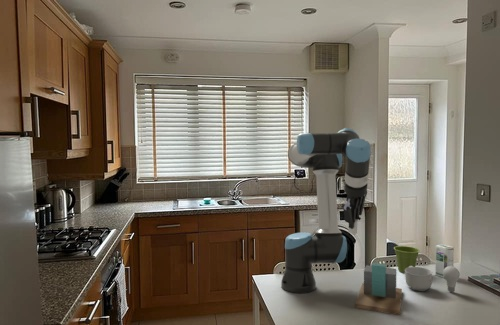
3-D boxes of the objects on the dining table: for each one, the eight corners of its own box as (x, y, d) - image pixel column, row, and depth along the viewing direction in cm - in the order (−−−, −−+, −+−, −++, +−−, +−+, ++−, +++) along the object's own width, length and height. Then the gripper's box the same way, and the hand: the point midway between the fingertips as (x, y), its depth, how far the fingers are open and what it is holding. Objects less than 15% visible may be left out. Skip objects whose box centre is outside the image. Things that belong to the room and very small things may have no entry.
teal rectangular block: (371, 295, 141) (371, 265, 141) (375, 283, 154) (375, 255, 153) (385, 297, 139) (385, 266, 139) (387, 284, 152) (387, 256, 151)
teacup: (435, 294, 149) (435, 275, 149) (407, 292, 151) (407, 273, 151) (425, 282, 163) (426, 264, 162) (400, 280, 165) (400, 263, 165)
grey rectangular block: (363, 293, 146) (363, 270, 146) (366, 287, 153) (366, 265, 153) (395, 298, 141) (395, 274, 141) (396, 291, 148) (396, 268, 148)
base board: (354, 307, 137) (354, 303, 137) (362, 286, 158) (362, 283, 158) (400, 314, 130) (400, 310, 130) (401, 292, 151) (401, 288, 151)
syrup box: (434, 275, 172) (434, 245, 171) (443, 273, 174) (443, 243, 174) (445, 278, 166) (445, 248, 166) (454, 277, 169) (454, 246, 168)
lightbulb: (458, 290, 152) (458, 265, 152) (460, 296, 147) (460, 269, 146) (442, 288, 155) (442, 263, 154) (443, 293, 149) (443, 267, 149)
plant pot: (417, 277, 169) (417, 253, 169) (391, 272, 176) (391, 250, 175) (421, 270, 179) (421, 247, 179) (396, 266, 185) (396, 244, 185)
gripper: (355, 195, 117) (351, 247, 129) (376, 177, 124) (370, 227, 136) (335, 187, 121) (334, 237, 134) (356, 169, 128) (353, 219, 141)
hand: (352, 232), depth 135 cm, fingers closed
